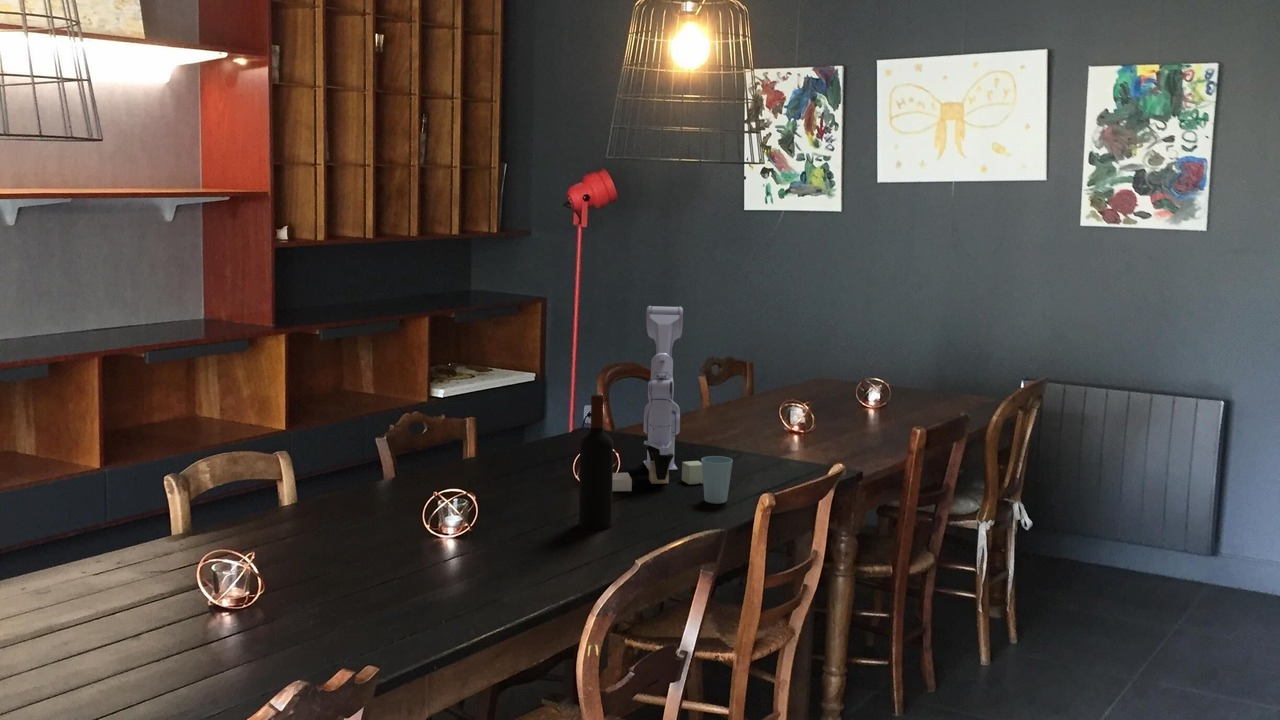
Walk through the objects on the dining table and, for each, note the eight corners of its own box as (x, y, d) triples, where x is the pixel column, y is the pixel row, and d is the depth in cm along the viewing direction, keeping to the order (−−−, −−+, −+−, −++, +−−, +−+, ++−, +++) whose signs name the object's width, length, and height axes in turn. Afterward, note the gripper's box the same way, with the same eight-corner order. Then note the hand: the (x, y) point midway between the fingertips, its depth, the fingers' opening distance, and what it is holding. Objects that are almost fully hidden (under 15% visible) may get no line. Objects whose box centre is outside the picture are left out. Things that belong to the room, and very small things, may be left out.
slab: (600, 484, 317) (601, 473, 317) (627, 484, 318) (628, 472, 318) (604, 491, 310) (604, 479, 310) (631, 490, 311) (631, 479, 311)
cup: (737, 502, 303) (739, 460, 301) (713, 506, 299) (714, 464, 297) (718, 495, 309) (719, 454, 307) (694, 499, 305) (695, 458, 303)
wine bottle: (572, 526, 279) (574, 396, 274) (589, 518, 286) (591, 391, 281) (601, 531, 275) (603, 399, 271) (617, 523, 282) (620, 394, 278)
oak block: (648, 479, 324) (649, 460, 323) (665, 479, 324) (666, 460, 324) (651, 483, 319) (651, 464, 318) (668, 483, 320) (669, 464, 319)
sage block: (681, 480, 323) (682, 462, 322) (697, 479, 325) (697, 460, 324) (689, 484, 319) (689, 465, 318) (704, 483, 321) (705, 464, 320)
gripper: (640, 419, 326) (639, 469, 328) (649, 430, 312) (647, 483, 314) (667, 419, 327) (665, 469, 329) (676, 430, 313) (675, 482, 315)
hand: (658, 475), depth 322 cm, fingers open, 7 cm apart
